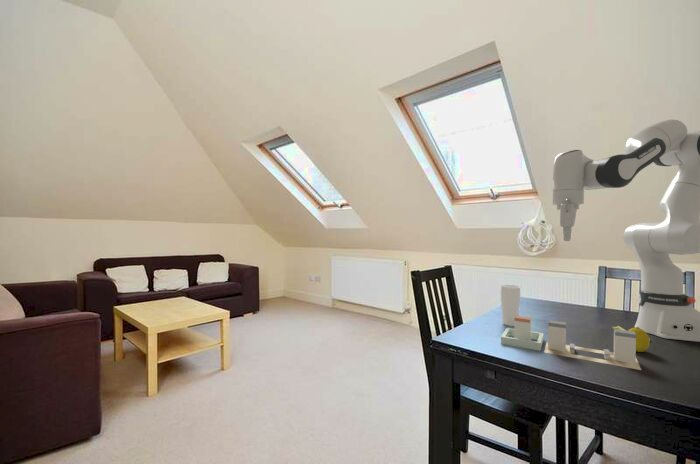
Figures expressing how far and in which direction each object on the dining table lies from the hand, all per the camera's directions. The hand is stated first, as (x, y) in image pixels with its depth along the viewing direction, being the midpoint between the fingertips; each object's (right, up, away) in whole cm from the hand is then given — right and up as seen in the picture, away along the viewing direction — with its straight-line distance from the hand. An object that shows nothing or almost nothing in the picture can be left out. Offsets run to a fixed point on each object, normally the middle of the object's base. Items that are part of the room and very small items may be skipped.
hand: (567, 240), depth 115 cm
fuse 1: (-10, -33, -11) cm, 36 cm away
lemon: (+12, -34, -13) cm, 38 cm away
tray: (-18, -33, -5) cm, 38 cm away
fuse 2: (+3, -33, -20) cm, 39 cm away
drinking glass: (-13, -33, +14) cm, 38 cm away
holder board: (-4, -34, -16) cm, 37 cm away
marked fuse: (-18, -33, -5) cm, 38 cm away
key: (+23, -34, +2) cm, 41 cm away
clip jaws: (-4, -34, -16) cm, 37 cm away
